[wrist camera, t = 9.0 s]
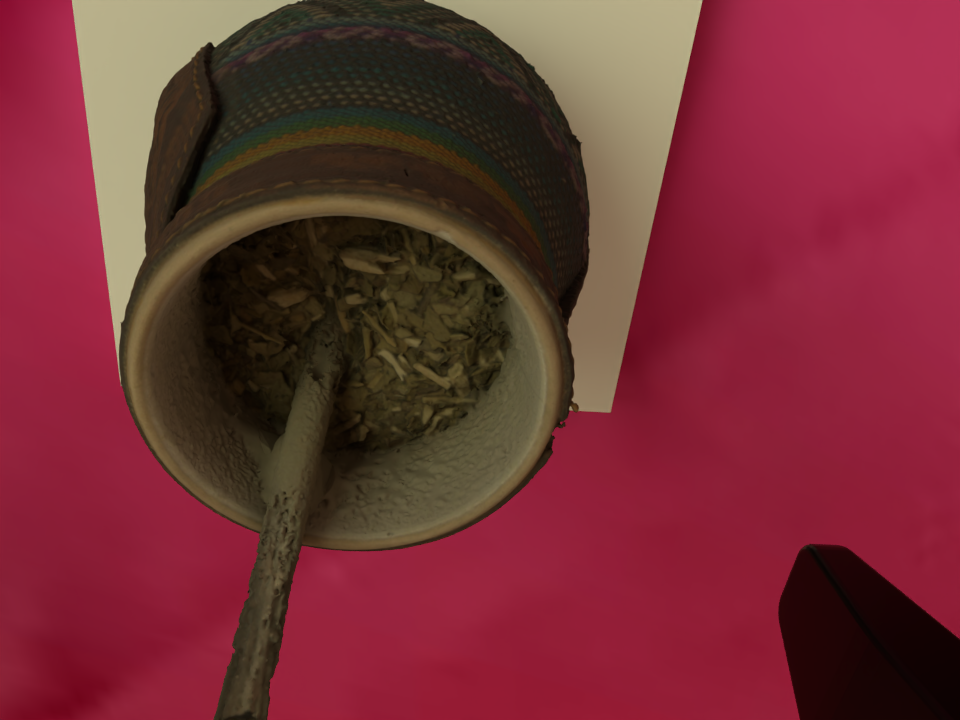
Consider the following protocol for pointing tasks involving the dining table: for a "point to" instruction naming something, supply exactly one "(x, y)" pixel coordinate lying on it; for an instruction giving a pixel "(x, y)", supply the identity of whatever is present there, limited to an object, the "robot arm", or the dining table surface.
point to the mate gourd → (353, 288)
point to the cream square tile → (516, 21)
